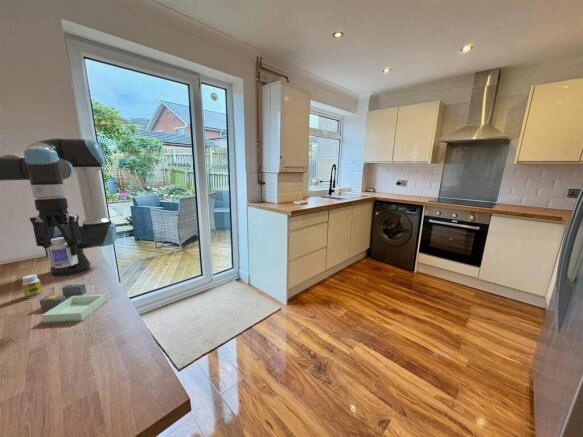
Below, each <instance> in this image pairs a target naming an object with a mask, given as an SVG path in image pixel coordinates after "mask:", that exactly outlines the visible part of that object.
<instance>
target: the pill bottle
mask: <svg viewBox="0 0 583 437" xmlns="http://www.w3.org/2000/svg"><path fill="white" fill-rule="evenodd" d="M51 244H53V245H52V246H50V253H51V257H52V261H53V265H54V267H55V268H63V267H67V266H69V261H68V256H67V251H66V246H68V245H67V243H66V241H65V239H64V237H59V238H54V239H51Z"/></svg>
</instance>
